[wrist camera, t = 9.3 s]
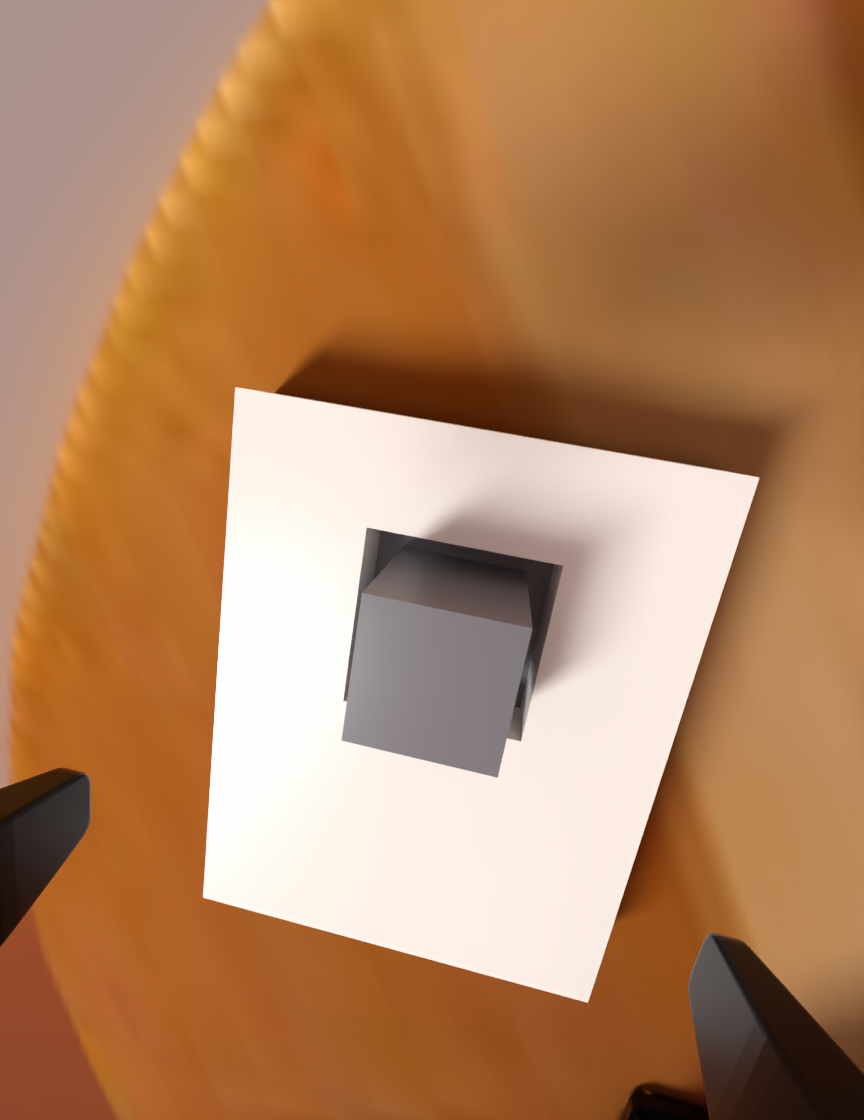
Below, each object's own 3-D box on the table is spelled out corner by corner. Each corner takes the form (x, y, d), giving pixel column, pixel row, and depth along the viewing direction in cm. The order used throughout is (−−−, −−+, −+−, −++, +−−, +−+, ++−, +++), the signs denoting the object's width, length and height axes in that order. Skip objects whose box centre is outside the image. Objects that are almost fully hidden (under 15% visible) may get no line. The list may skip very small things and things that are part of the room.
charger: (526, 570, 17) (532, 628, 12) (500, 683, 18) (497, 777, 13) (403, 546, 17) (362, 593, 12) (386, 658, 18) (341, 740, 13)
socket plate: (721, 469, 16) (759, 477, 13) (578, 934, 20) (587, 1002, 18) (274, 392, 17) (235, 387, 15) (237, 845, 22) (203, 897, 19)
